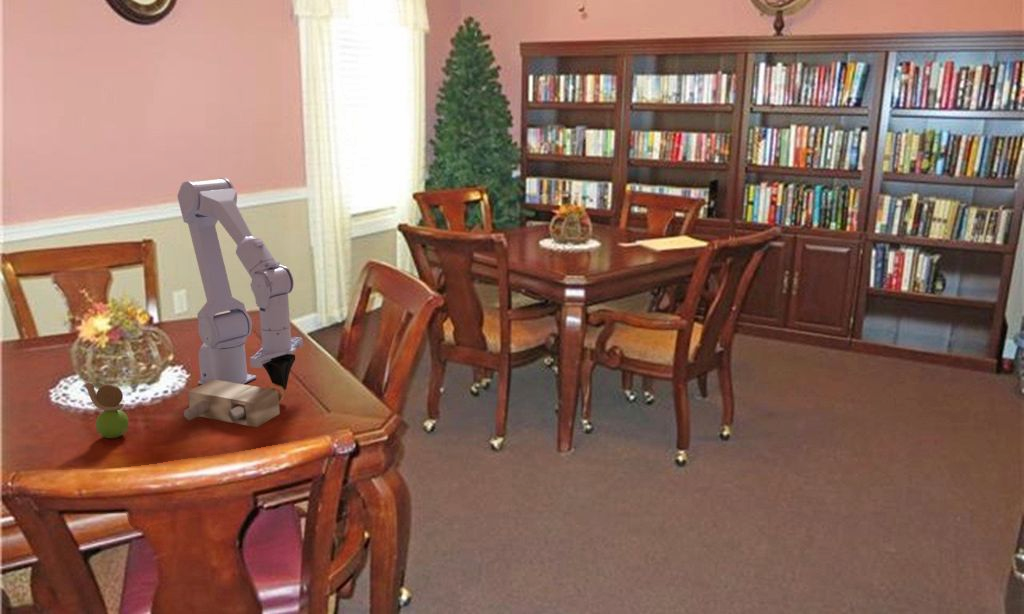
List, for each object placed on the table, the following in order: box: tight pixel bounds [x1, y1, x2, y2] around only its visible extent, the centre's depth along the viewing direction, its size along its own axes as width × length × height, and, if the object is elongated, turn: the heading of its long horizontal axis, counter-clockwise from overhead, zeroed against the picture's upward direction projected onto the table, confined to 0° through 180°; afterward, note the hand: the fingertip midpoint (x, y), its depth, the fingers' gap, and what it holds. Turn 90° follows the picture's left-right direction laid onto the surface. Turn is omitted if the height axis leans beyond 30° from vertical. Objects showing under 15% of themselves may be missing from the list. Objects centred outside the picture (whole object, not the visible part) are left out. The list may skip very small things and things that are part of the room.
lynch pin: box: [229, 382, 286, 420], centre depth 153 cm, size 4×13×4 cm, turn 159°
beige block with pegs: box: [183, 379, 281, 428], centre depth 152 cm, size 16×12×5 cm
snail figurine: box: [83, 375, 130, 439], centre depth 142 cm, size 5×6×12 cm
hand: (280, 389), depth 160 cm, fingers closed
